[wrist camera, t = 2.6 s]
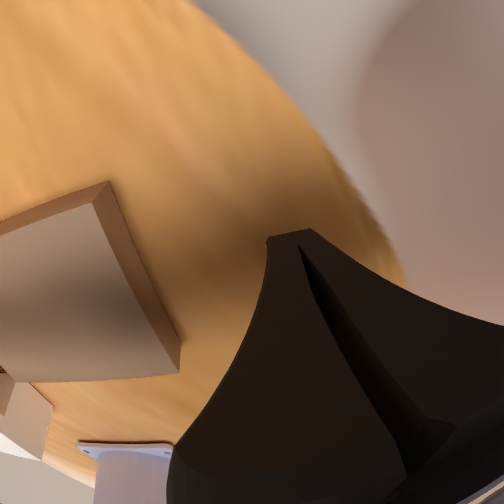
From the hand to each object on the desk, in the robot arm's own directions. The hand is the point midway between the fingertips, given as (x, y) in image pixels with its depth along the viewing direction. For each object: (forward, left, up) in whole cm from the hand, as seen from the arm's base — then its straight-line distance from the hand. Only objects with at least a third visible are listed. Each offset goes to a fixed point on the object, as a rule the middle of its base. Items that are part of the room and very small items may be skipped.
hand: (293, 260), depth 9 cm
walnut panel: (0, +9, -1) cm, 9 cm away
